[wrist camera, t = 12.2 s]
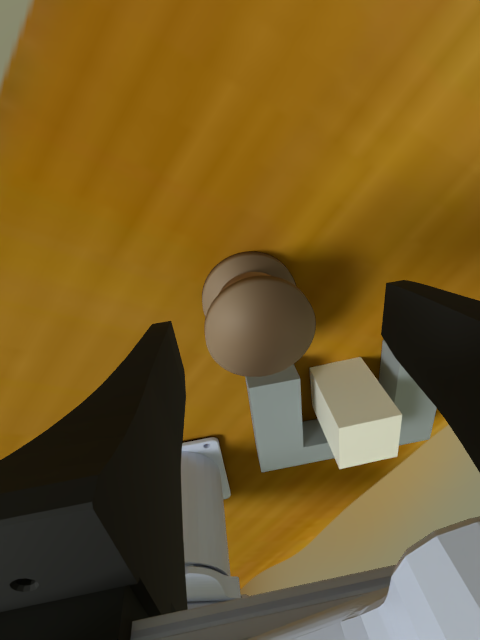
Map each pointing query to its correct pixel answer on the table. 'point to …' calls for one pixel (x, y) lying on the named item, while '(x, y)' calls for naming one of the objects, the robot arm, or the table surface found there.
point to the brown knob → (255, 315)
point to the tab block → (354, 413)
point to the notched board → (308, 437)
